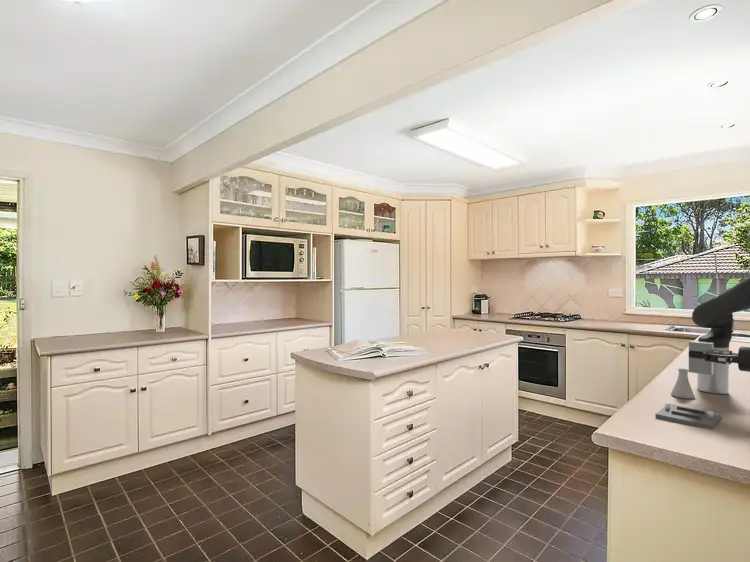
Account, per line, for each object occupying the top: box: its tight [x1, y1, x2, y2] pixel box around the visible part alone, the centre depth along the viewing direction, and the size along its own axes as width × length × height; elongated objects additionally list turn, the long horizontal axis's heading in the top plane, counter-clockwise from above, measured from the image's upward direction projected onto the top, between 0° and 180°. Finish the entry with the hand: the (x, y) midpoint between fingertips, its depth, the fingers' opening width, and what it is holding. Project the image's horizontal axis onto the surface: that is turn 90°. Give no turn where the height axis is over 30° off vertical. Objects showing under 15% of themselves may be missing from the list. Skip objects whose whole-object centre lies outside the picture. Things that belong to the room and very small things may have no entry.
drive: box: [688, 340, 714, 375], centre depth 139 cm, size 6×4×10 cm, turn 43°
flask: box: [670, 367, 696, 400], centre depth 154 cm, size 7×7×10 cm
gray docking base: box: [655, 402, 722, 430], centre depth 131 cm, size 14×16×3 cm
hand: (690, 353), depth 141 cm, fingers closed on drive, 3 cm apart
